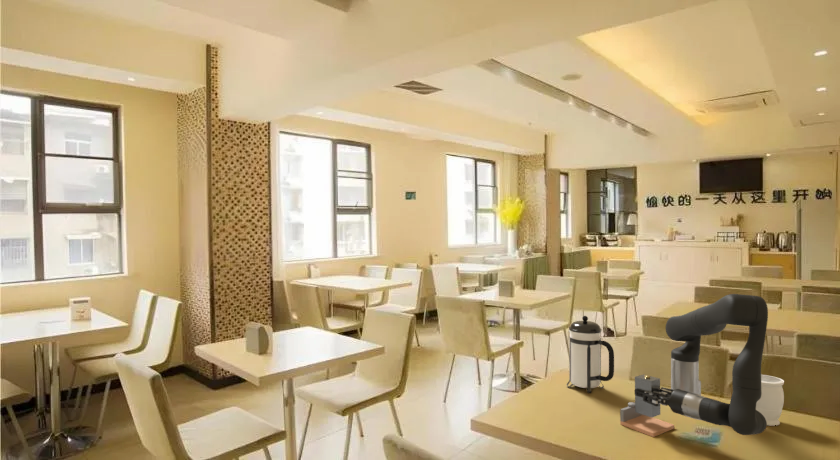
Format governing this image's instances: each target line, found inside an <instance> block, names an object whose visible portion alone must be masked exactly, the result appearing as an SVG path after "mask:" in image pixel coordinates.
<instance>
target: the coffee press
mask: <svg viewBox="0 0 840 460" xmlns="http://www.w3.org/2000/svg"><path fill="white" fill-rule="evenodd" d="M581 318H582V320H575V321H572V323H571V324H570V326H569V328H568V333H569V364H568V365H569V366H568V367H569V368H568V369H569V372H568V375H569V377H568V378H569V379H568V382H566V387H567V388H569V389H570V388H571V387H572V386H576V387H579V388H583V389H585V390H586V394H592V389H595V388H597V387H598V388H600V389H604V388H605V386H604V384H603V383H602V382H609V381H611V380H612V379H613V378H614V375H615V352H614V348H613V346H612V345H611V343H609V342H608V341H605V340H602V337H601V335H602V334H601V333H602V328H601V326H600V325H599V324H598V323H597V322H594V321H589V317H588V316H587V315H583V316H582V317H581ZM602 346H604V347H605V348H606V349H607V351H608V373H607V376H604V375H602ZM570 383H571V384H570ZM569 384H570V385H569ZM600 384H601V385H602V386H600ZM568 385H569V386H568Z"/></svg>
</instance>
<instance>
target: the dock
mask: <svg viewBox="0 0 840 460" xmlns="http://www.w3.org/2000/svg"><path fill="white" fill-rule="evenodd" d="M619 413H620V414H619V415H620V419H619V424H620V426H624V427H626V428H628V429H631V430H633V431H636V432H638V433H639V432H640V433H641V434H645V435H647V436H649V437H652V438H654V437H657V436H659V435H663V434H664V433H667V432H670V431H671V430H674V429H675V424H674V423H671V422H667V421H665V420H661V419H659V418H656V417H652V418H651V417H648V416H645V415H642V414H639V413H636V412H635V401H634V402H632V401H630V402H628V403H627V406H625V407H623V408H620V412H619Z"/></svg>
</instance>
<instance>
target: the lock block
mask: <svg viewBox="0 0 840 460" xmlns="http://www.w3.org/2000/svg"><path fill="white" fill-rule="evenodd" d="M635 389H640V390H643V391H647V392H651V393H652V392H653V391H656V392H660V389H661V378H660V377H655V376H652V375H648V374H639V375H636V376H635V377H634V390H635ZM649 395H650V394H649ZM656 395H657V394H655V397H656ZM634 403H635V412H636V413H639V414H642V415H645V416H648V417H651V418H652V417H653V418H656V417H657V416H660V415H661V404H658V406H654V405H652V404H649V403H647V402H645V401H643V398H642V397H639V396H636V395H635V394H634Z"/></svg>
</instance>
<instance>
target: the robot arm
mask: <svg viewBox="0 0 840 460" xmlns="http://www.w3.org/2000/svg"><path fill="white" fill-rule="evenodd" d="M768 318H769V309H768V305H767V302H766V300H765V299H764V298H763V297H761V296H759V295H752V294H751V295H750V294H739V293H730V294H726V295H724V296H723V297H721V298H719V299H718V300H717V301H715V302H713V303H710V304H707V305H704V306H701V307H699V308H697V309H694V310H691V311H689V312H687V313H685V314H682V315H677V316H674V315H673V316H671V317H668V319H667V321H666V322H665V323H666V324H665V332H666V334H667V336H668V338H670V340H672V341H675V342H684V343H683V344H682V345H680V346H677V347H675V348H672V350H671V351H670V388H668V387H663V386H660V392H656V391H653V392H652V393H651V392H647V391H643V390H640V389H635V388H634V396H635V395H636V396H639V397H642V398H643V401H645V402H647V403H649V404H652V405H654V406H658V404H660V405H662V406H668V407H669V408H670V410H671V412H673V413H674V414H677V415H680V416H683V417H688V418H689V419H690V418H691V419H694V420H696V421H697V420H698V421H703V422H707V423H709V424H713V425H718V426H727V427H730V428H731V429H732V430H733V431H734V432H735V433H737V434H739V435H742V436H753V435H758V434H762V433H763V432H764V431H765V430H766V428H767V426H768V425H767V422H766V419H765V417H764V416H763V415H762V414H761V413H760V412H759V411H757V410H756V403H757V401H758V400H759V399H760V398H761V393H762V390H761V375H762V363H763V353H764V348H765V347H764V346H765V341H766V335H767V329H768V321H769V320H768ZM727 325H731V326H739V327H740V326H741V327H748V329H749V330H748V331H749V332H748V338H747V341H746V343H745V345H744V347H743V348H742V350H741V352H740V353H739V354H738V356H737V358H736V359H735V361H734V363H733V365H732V377H731V378H732V379H731V380H732V382H731V383H732V384H731V385H732V393H731V398H730V403H726V402H724V401H721V400H717V399H713V398H710V397H706V396H703V395H702V381H701V380H700V376H699V374H700V373H699V372H700V370H699V369H700V365H699V361H700V359H699V358H700V357H699V356H700V353H701V340H702V336H710V335H714V334H718V333H721V332H722V331H723V330H725V329H726V327H727ZM649 394H650V395H649ZM655 394H657V395H656V397H655Z"/></svg>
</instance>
